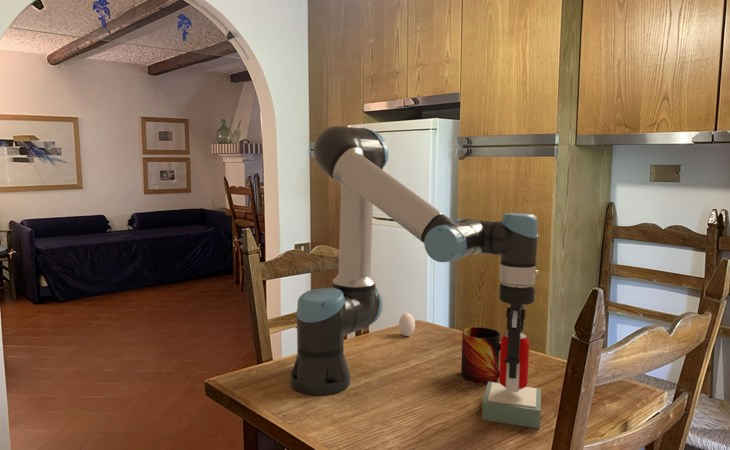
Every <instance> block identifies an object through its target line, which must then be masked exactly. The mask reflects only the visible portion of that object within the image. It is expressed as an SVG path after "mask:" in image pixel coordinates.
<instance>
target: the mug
mask: <svg viewBox="0 0 730 450" xmlns="http://www.w3.org/2000/svg"><path fill="white" fill-rule="evenodd" d="M461 333H462V334H461V336H462V337H461V338H462V339H461V341H462V342H461V363H460V364H461V372H460V377H461V378H462V379H463V380H464V381H465V382H468V383H470V384H471V383H472V384H475V385H487V384H488V381H489V382H496V383H498V381H499V372H500V347H501V333H500V332H499V331H497V330H495V329H493V328H488V327H480V326H478V327H475V326H474V327H467V328H464V329H463V330H462V332H461Z"/></svg>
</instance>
